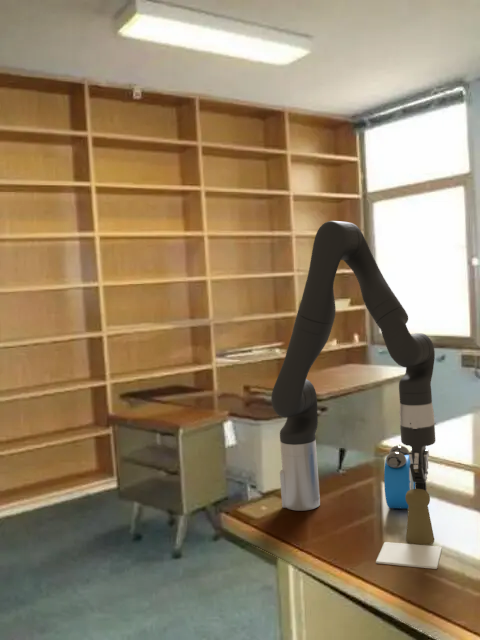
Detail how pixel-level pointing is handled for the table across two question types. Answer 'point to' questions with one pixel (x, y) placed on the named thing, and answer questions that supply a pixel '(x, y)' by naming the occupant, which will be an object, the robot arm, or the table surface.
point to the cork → (418, 518)
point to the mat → (410, 555)
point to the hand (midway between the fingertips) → (421, 497)
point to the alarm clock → (397, 477)
